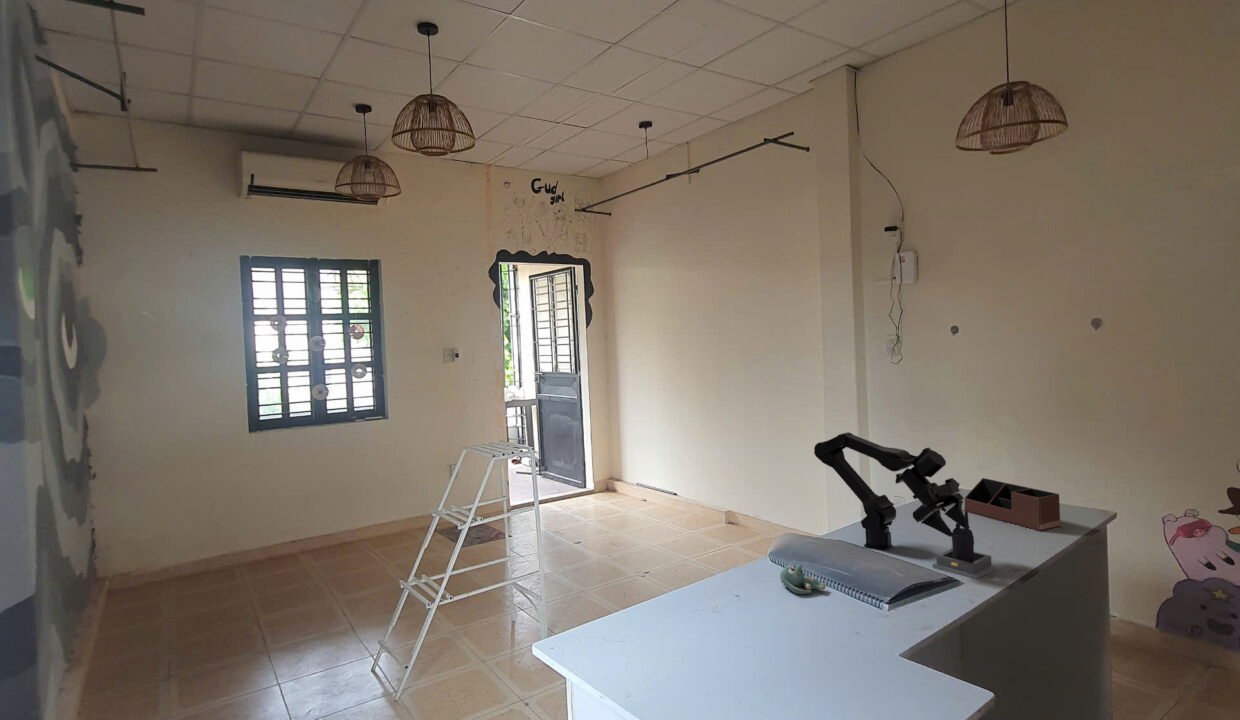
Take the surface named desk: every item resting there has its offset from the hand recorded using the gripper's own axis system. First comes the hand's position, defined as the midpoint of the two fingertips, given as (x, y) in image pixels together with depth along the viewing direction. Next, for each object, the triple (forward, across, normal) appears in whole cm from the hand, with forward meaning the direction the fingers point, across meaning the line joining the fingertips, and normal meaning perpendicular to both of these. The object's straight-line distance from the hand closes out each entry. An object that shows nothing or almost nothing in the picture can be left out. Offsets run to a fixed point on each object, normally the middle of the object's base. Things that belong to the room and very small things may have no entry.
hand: (960, 532), depth 177 cm
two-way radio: (+7, -1, +6) cm, 9 cm away
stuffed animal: (-7, -43, +22) cm, 49 cm away
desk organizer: (0, +56, +15) cm, 58 cm away
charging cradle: (+8, 0, +6) cm, 10 cm away
